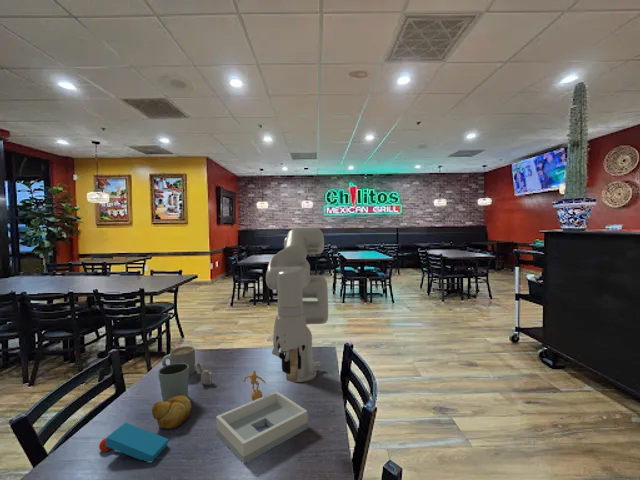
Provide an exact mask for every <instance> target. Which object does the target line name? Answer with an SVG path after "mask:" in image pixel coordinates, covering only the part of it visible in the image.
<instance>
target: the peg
mask: <svg viewBox="0 0 640 480" xmlns="http://www.w3.org/2000/svg"><path fill="white" fill-rule="evenodd" d="M288 360H289V361H290V374H287V373H285V374H286V376H285V379H286V381H287V382H294V381H296V380H298V347H297V348H294V349H292V350H289V359H288Z"/></svg>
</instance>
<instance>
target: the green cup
mask: <svg viewBox="0 0 640 480" xmlns="http://www.w3.org/2000/svg"><path fill="white" fill-rule="evenodd" d="M157 373H158V374H157V375H158V378H159V379H158V380H159V385H160V388H159V389H160V393H161V398H162V399H161V402H162V401H167V400H169V399H170V398H172V397H174V396H180V395H182V396H186V397H187V398H188V399H189V375H188V373H189V365H188V364H186V363H174V364H170V363H169V364H167V366H164V367H163V366H162V367H161V368H160V369H158V372H157Z"/></svg>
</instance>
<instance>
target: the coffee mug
mask: <svg viewBox="0 0 640 480" xmlns="http://www.w3.org/2000/svg"><path fill="white" fill-rule="evenodd" d="M161 359H162V361H161V364H162V367H164V366H167V365H168V364H167V363H166V360H167V359H168V360H169V365H170V364H174V363H186V364H188V365H189V373H188V375H189V376H191V375H193V374H195V373H196V369H195V366H194V365H195V364H196V350H195V347H194V346H191V345H186V346H185V345H184V346H179V347H176V348H173V349H171V350H170V353H169V354H167V355H164V356H163V357H162V358H161Z"/></svg>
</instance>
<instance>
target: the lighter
mask: <svg viewBox="0 0 640 480" xmlns="http://www.w3.org/2000/svg"><path fill="white" fill-rule="evenodd" d="M194 366H195V372H196V373H197V375H200V383H201V385H209V386H210V385H211V384H213V372H212V371H211V372H210V370H209V369H204V370H203V368H202V366H201V364H200V362H197V363H195V365H194Z"/></svg>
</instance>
